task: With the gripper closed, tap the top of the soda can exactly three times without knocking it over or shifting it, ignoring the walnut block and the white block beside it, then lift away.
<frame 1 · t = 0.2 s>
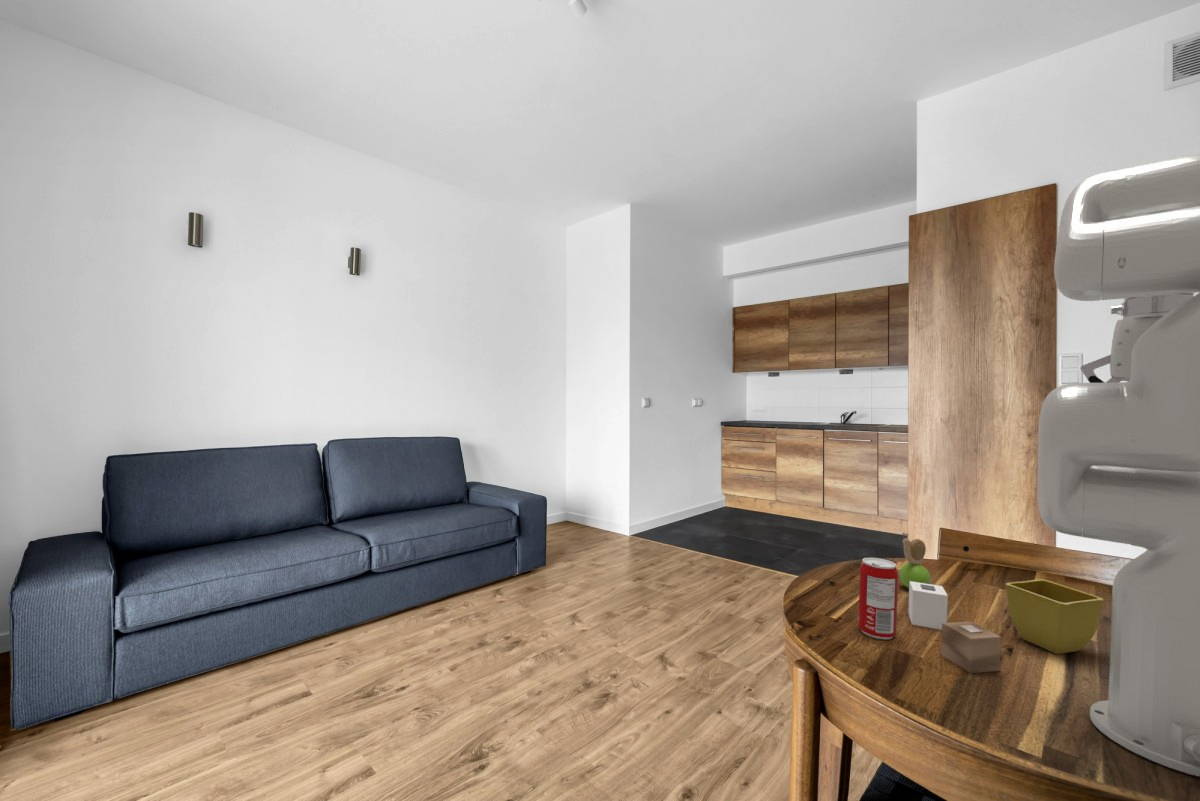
hand: (1153, 417, 81), 37 cm above the table, tool pointing down, fingers open, 9 cm apart
flower pot: (1050, 647, 81), on the table
walnut block: (969, 663, 75), on the table
white block: (926, 622, 89), on the table
snail figurine: (912, 591, 104), on the table
soda can: (876, 633, 84), on the table
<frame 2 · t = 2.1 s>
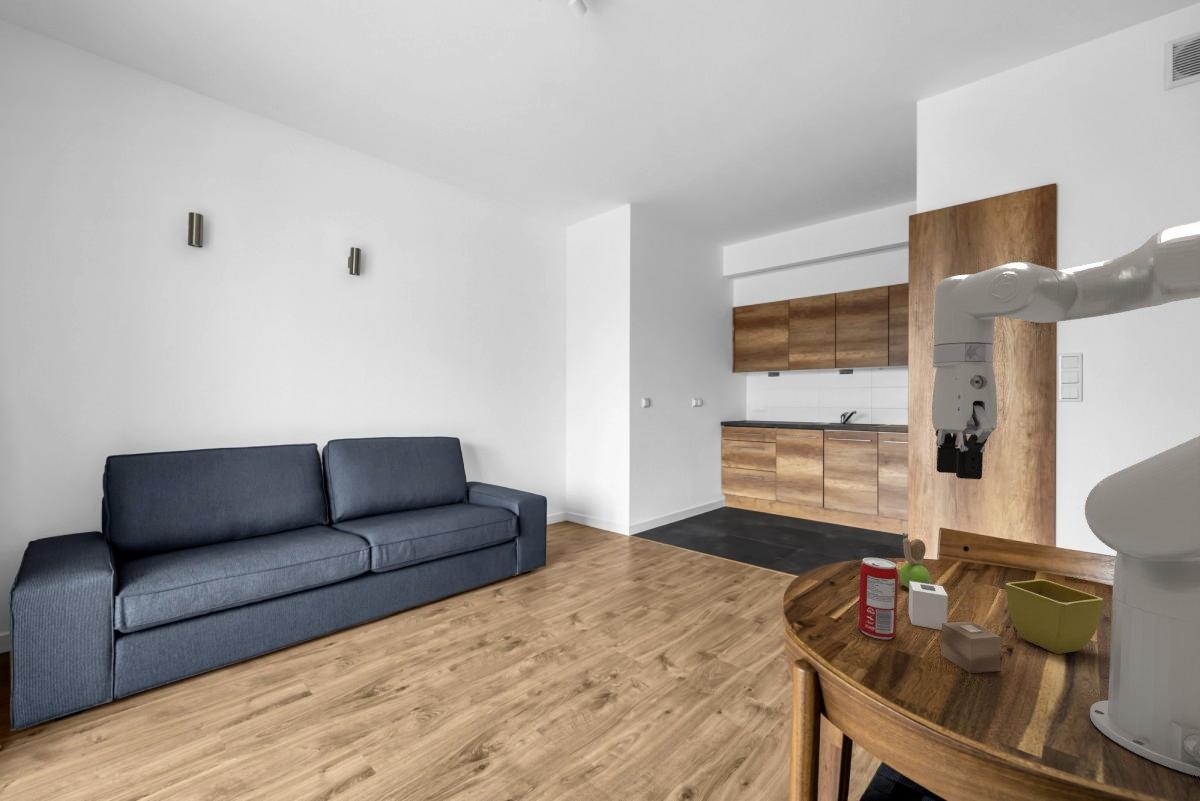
hand: (958, 474, 78), 27 cm above the table, tool pointing down, fingers open, 5 cm apart
nothing on the table moved.
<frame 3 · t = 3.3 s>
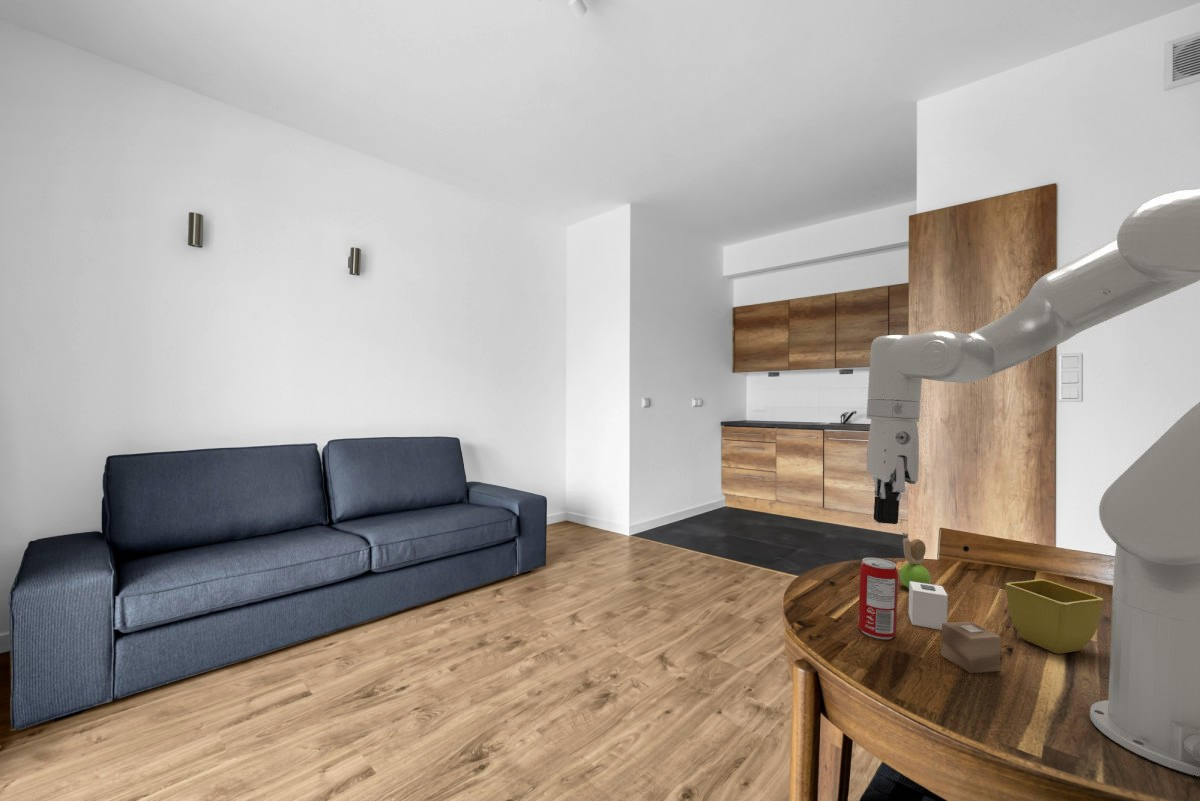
hand: (885, 521, 84), 18 cm above the table, tool pointing down, fingers closed
nothing on the table moved.
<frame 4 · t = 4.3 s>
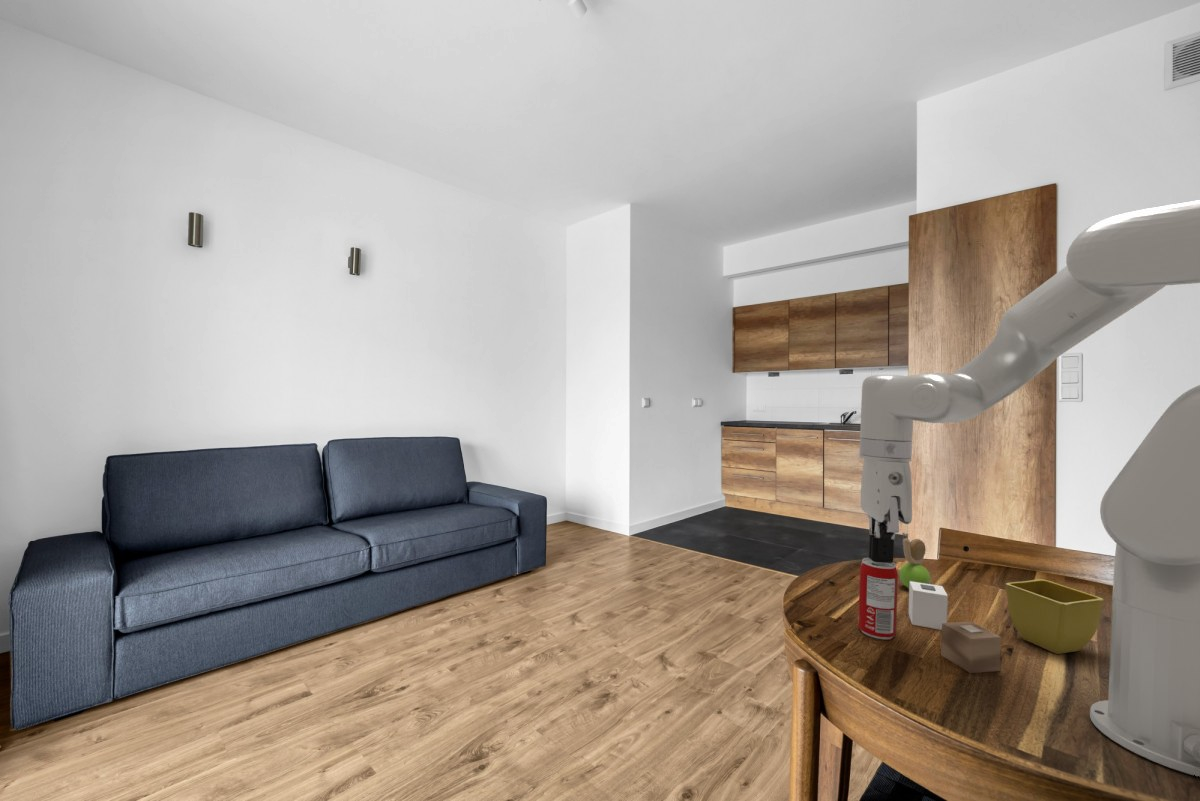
hand: (880, 560, 84), 12 cm above the table, tool pointing down, fingers closed
soda can: (876, 633, 84), on the table, touching gripper
everything else where it was.
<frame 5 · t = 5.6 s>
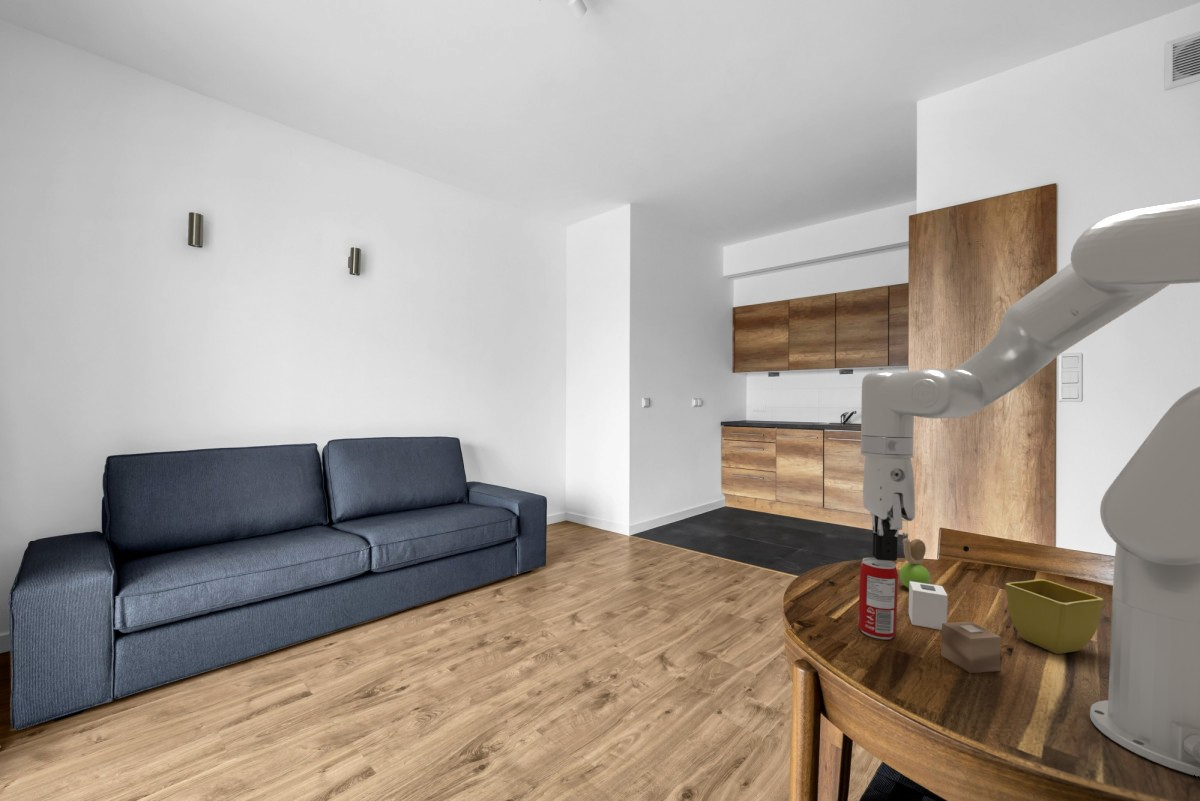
hand: (884, 558, 84), 13 cm above the table, tool pointing down, fingers closed
soda can: (876, 633, 84), on the table
everything else where it was.
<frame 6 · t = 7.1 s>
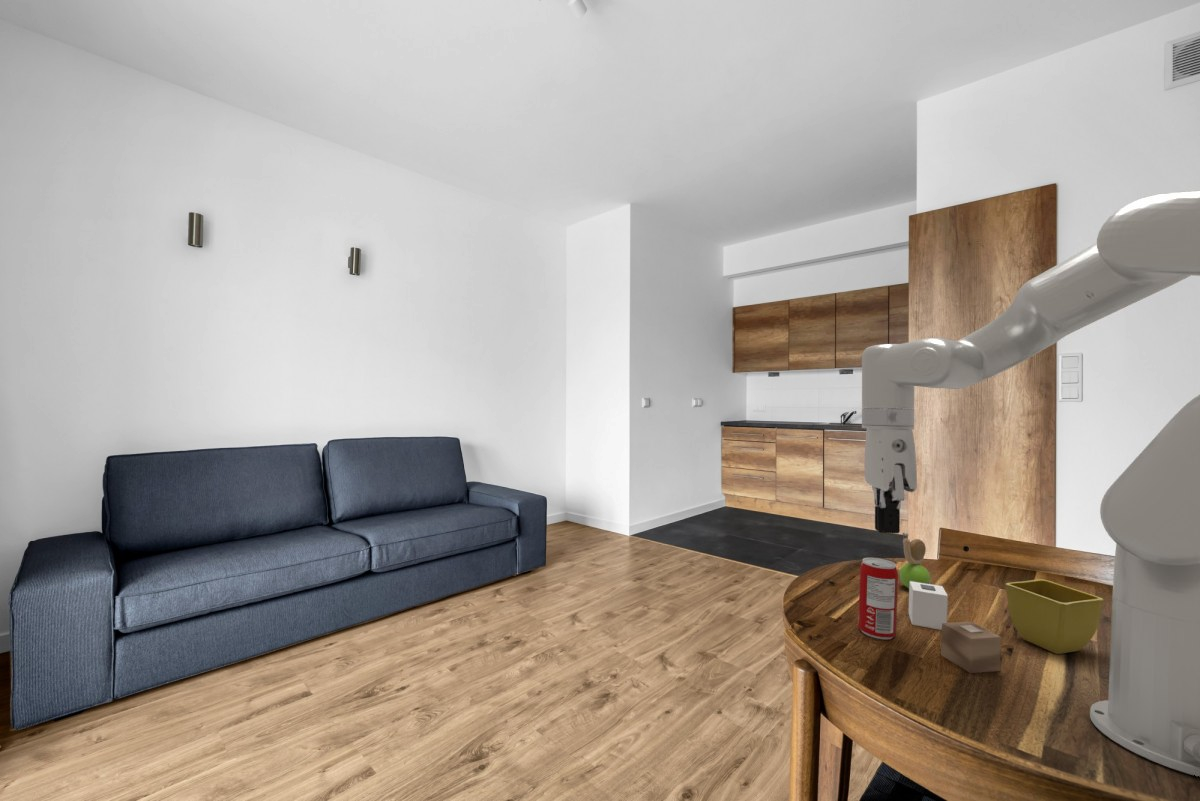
hand: (887, 531, 83), 17 cm above the table, tool pointing down, fingers closed
nothing on the table moved.
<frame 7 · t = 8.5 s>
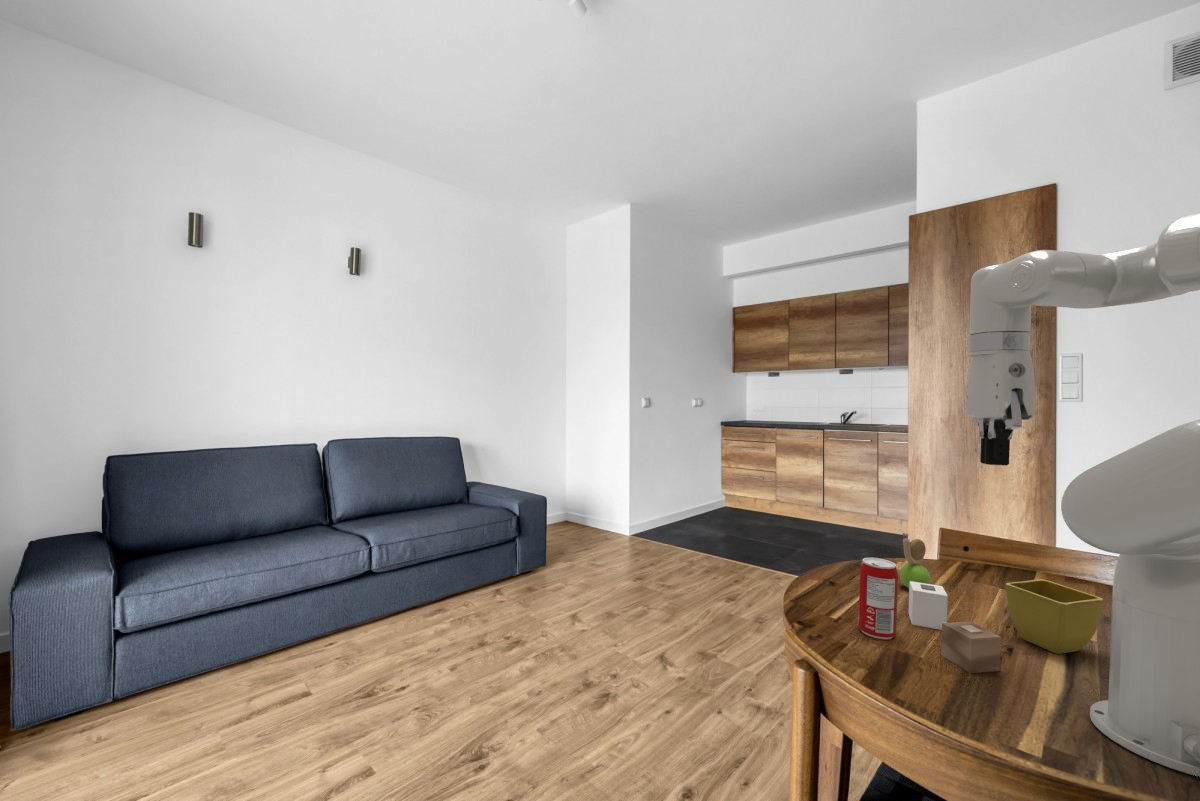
hand: (994, 464, 79), 29 cm above the table, tool pointing down, fingers closed
nothing on the table moved.
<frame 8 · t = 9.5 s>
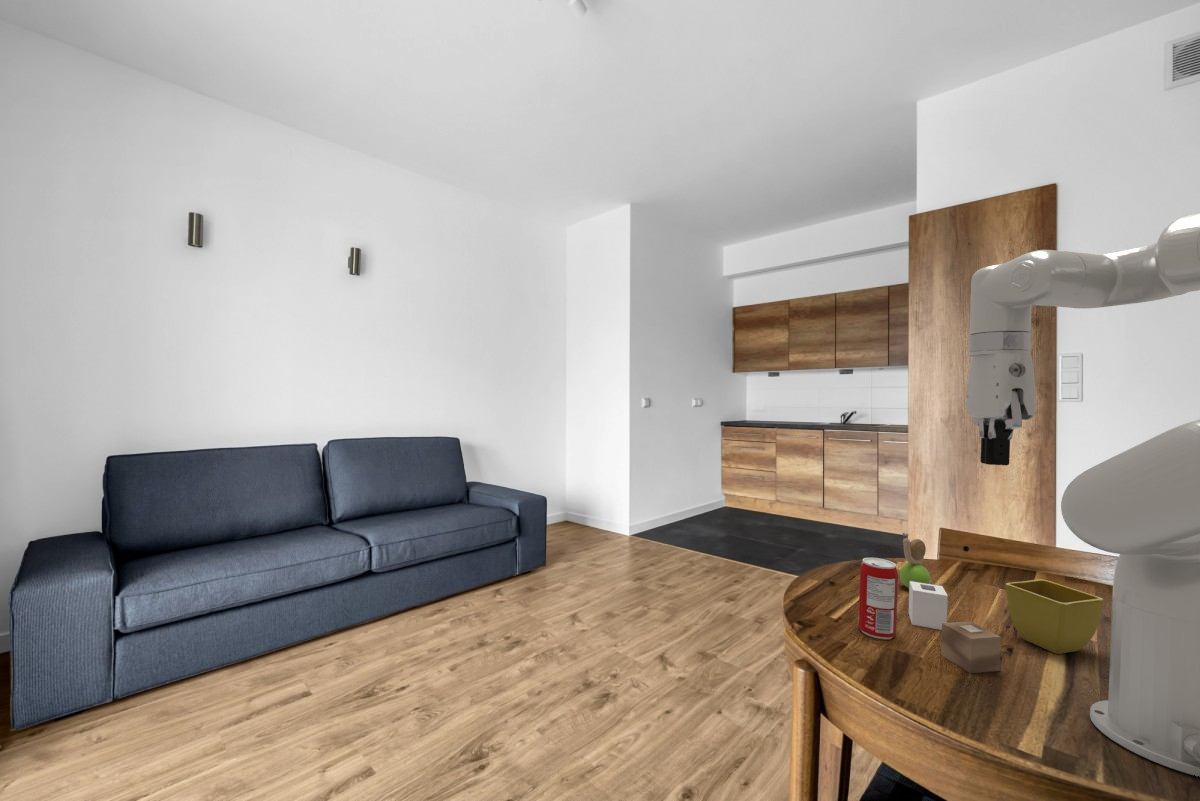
hand: (994, 464, 79), 29 cm above the table, tool pointing down, fingers closed
nothing on the table moved.
at the end: soda can moved 0.2 cm from its start; soda can tilted 0°; soda can touching table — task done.
